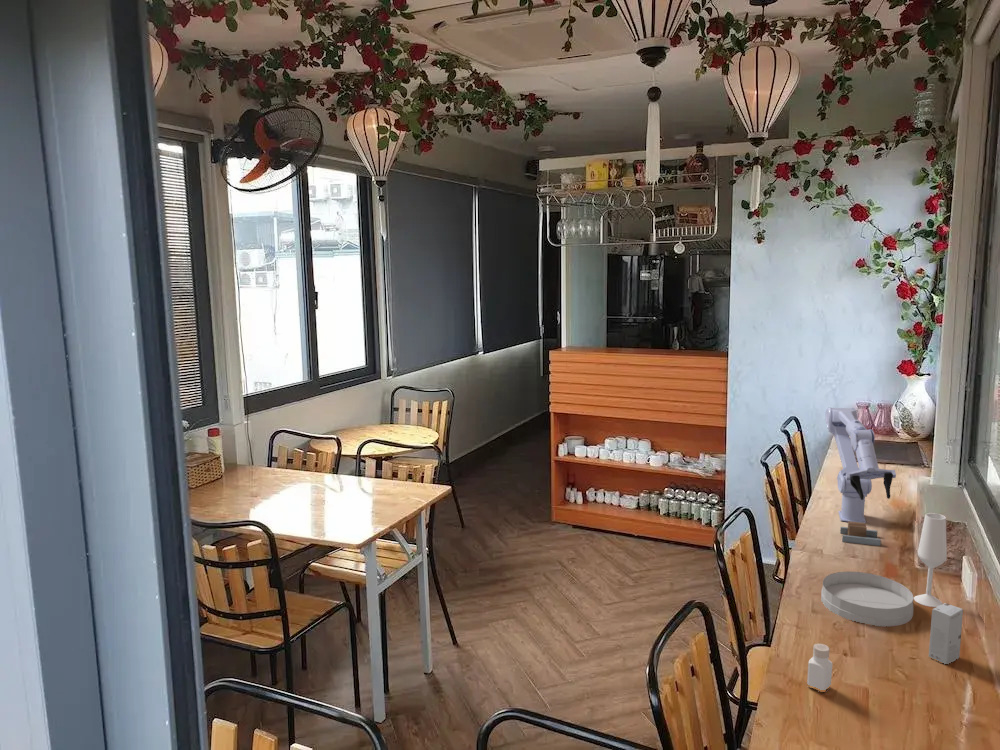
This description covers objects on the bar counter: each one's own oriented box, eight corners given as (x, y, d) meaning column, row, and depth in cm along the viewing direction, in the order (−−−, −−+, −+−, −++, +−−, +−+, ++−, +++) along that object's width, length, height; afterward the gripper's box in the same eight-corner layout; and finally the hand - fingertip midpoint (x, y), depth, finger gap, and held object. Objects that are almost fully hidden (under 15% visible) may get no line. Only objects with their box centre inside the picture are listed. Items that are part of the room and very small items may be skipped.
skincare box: (947, 666, 168) (951, 616, 166) (926, 657, 172) (931, 608, 170) (960, 657, 172) (965, 609, 170) (940, 649, 175) (944, 601, 173)
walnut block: (847, 535, 244) (848, 521, 243) (863, 537, 243) (865, 522, 242) (848, 540, 240) (849, 525, 239) (865, 542, 239) (866, 527, 238)
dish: (901, 592, 204) (902, 575, 204) (923, 632, 184) (925, 613, 183) (815, 584, 210) (816, 567, 210) (827, 621, 189) (828, 603, 189)
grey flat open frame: (840, 532, 247) (840, 526, 246) (876, 536, 243) (877, 530, 243) (842, 541, 239) (842, 535, 239) (880, 545, 235) (880, 540, 235)
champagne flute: (945, 608, 195) (953, 522, 191) (916, 604, 197) (923, 519, 193) (939, 597, 201) (946, 513, 197) (911, 593, 203) (918, 510, 199)
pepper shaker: (805, 687, 161) (808, 647, 159) (813, 679, 164) (816, 640, 162) (824, 695, 158) (827, 654, 156) (831, 687, 161) (834, 647, 159)
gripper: (843, 456, 243) (851, 492, 235) (892, 453, 239) (902, 490, 230) (843, 467, 248) (850, 503, 240) (890, 464, 244) (899, 501, 235)
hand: (875, 497), depth 235 cm, fingers open, 7 cm apart
